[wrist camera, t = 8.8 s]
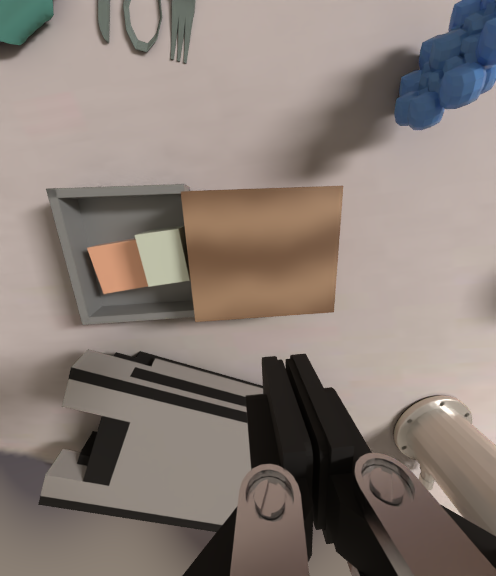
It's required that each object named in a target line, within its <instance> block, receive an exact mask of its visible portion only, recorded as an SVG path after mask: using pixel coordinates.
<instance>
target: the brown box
mask: <svg viewBox="0 0 496 576" xmlns="http://www.w3.org/2000/svg"><path fill="white" fill-rule="evenodd" d="M342 196H343V186H323V187H294V188H265V189H237V190H208V191H181V199H182V208H183V217H184V226H185V235H186V244H187V252H188V261H189V270H190V279H191V288H192V297H193V305H194V314H195V322H202V321H216V320H230V319H244V318H258V317H272V316H287V315H301V314H315V313H329V312H334V302H335V289H336V276H337V262H338V249H339V236H340V222H341V209H342Z"/></svg>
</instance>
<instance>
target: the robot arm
mask: <svg viewBox="0 0 496 576" xmlns="http://www.w3.org/2000/svg"><path fill="white" fill-rule="evenodd" d="M262 376H263V394H255V395H246V410H247V424H248V437H249V449H250V461H251V471H249V472H248V473H247V474H246V476H245V477H244V479H243V481H242V482H241V486H240V490H239V496H238V506H237V507H236V508H235V510H234V511H233V512H232V513H231V515H230V516H229V517H228V519H227V520H226V521H225V522H224V524H223V525H222V526H221V527H220V529H219V530H218V531H217V533H216V534H215V535H214V536H213V538H212V539H211V540H210V541H209V543H208V544H207V545H206V547H205V548H204V549H203V550H202V552H201V553H200V554H199V555H198V557H197V558H196V559H195V561H194V562H193V563H192V564H191V566H190V567H189V568H188V569H187V571H186V572H185V573H184V575H183V576H310V575H309V566H308V562H309V559H310V558H311V555H312V534H313V532H312V531H313V522H314V526H315V528H316V530H319V529H322V531H323V535H324V538H325V541H326V544H330V543H334V545H335V549H336V552H338V553H339V554H340V555H341V556H342V557H343V558H344V559H346V560H347V563H348V566H349V569H350V572H351V575H352V576H496V445H495V444H494V443H493V442H491V441H490V440H489V439H488V438H487V437H486V436H485V435H484V434H482V433H481V432H480V431H479V430H478V429H477V428H476V427H474V426H473V425H472V415H471V412H470V410H469V408H468V407H467V406H466V405H465V404H464V403H462V402H461V401H460V400H458V399H456V398H454V397H451V396H434V397H429V398H426V399H423V400H421V401H419V402H417V403H415V404H414V405H412V406H411V407H410V408H408V409H407V410H406V411H405V412H404V413H403V414H402V416H401V417H400V418H399V420H398V422H397V424H396V426H395V430H394V440H395V443H396V445H397V447H398V448H399V449H400V451H401V452H402V453H403V454H404V455H405V456H407V457H409V458H412V459H415V460H417V461H418V463H419V464H420V469H421V473H420V476H419V479H418V478H417V477H416V476H415V475H414V474H413V472H411V471H410V470H409V469H408V468H407V467H406V466H405V465H404V464H403V463H401V462H400V461H398V460H397V459H395V458H393V457H390V456H388V455H386V454H381V453H372V452H371V451H370V449H369V447H368V446H367V444H366V442H365V440H364V439H363V437H362V435H361V434H360V432H359V430H358V428H357V427H356V425H355V423H354V422H353V420H352V418H351V416H350V415H349V413H348V411H347V410H346V408H345V406H344V405H343V403H342V401H341V399H340V398H339V396H338V394H337V393H336V391H335V390H334V389H333V388H332V387H331V388H323V386H322V384H321V382H320V380H319V378H318V376H317V374H316V372H315V371H314V369H313V367H312V365H311V363H310V361H309V359H308V357H307V355H306V354H296V355H291V356H290V359H286V369H285V366H284V363H283V361H282V360H277V357H276V356H273V357H262ZM434 480H435V481H436V482H437V484H438V485H439V486H440V488H441V489H442V490H443V491H444V493H445V494H446V495H447V497H448V498H449V499H450V501H451V502H452V503H453V505H454V506H455V507H456V508H457V510H458V511H459V512H460V514H461V515H462V516H463V517H461V516H460V515H458V514H456V513H454V512H452V511H451V510H449V509H447V508H445V507H444V506H442V505H440V504H439V503H438V502H437V500H436V499H435V498H434V497H433V496H432V495H431V493H430V492H429V491H428V490H431V489H432V488H433V484H434Z"/></svg>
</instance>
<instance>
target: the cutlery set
mask: <svg viewBox="0 0 496 576" xmlns="http://www.w3.org/2000/svg"><path fill="white" fill-rule="evenodd" d="M130 1H131V0H124V3H123V8H124V17H125V25H126V31H127V33H128V35H129V37H130V39H131V41H132V43H133V45H134V47H135V49H137V50H141V51H145V52H147V51H148V50H149V49H150V47H151V46H152V45H153V44H154V42H155V41H156V40H157V37H158V33H159V29H160V24H161V20H162V10H161V0H158V2H159V10H160V20H159V25H158V29H157V33H156V34H155V36H154V37H153V38H152V39H151V40H150V41H149V43H145V42H142V41H139V40H138V39H137V37H136V35H135V33H134V31H133V29H132V27H131V22H130V14H129V5H130ZM194 11H195V0H172V43H171V60H174V53H175V45H176V38H177V31H178V58H177V61H178V62H180V58H181V51H182V44H183V37H184V30H185V49H184V63H186V62H187V55H188V49H189V42H190V35H191V28H192V22H193V17H194ZM53 15H54V14H53V1H52V0H0V42H5V43H9V44H15V45H21V44H23V43H24V42H26V40H27V38H28V37H29V36H31V35H32V34H33V33H34V32H35V31H36V30H37V29H38V28H40V27H41V26H42V25H43V24H44V23H45V22H46V21H49V20H51V18H52V17H53ZM98 22H99V27H100V30H101V32H102V35H103V37H104V39H105V40H106V41H107V43H109V22H110V0H98ZM178 23H179V28H178Z"/></svg>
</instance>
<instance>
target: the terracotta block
mask: <svg viewBox="0 0 496 576" xmlns="http://www.w3.org/2000/svg"><path fill="white" fill-rule="evenodd" d="M87 250H88V252H89V255H90V258H91V260H92V263H93V266H94V269H95V271H96V274H97V277H98V280H99V282H100V285H101V288H102V291H103V293H104V294H107V293H113V292H119V291H124V290H130V289H136V288H141V287H147V286H148V283H147V279H146V276H145V272H144V268H143V265H142V261H141V257H140V254H139V250H138V246H137V243H136V239H135V238H133V239H128V240H122V241H116V242H110V243H104V244H98V245H95V246H92V247H88V248H87Z"/></svg>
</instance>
